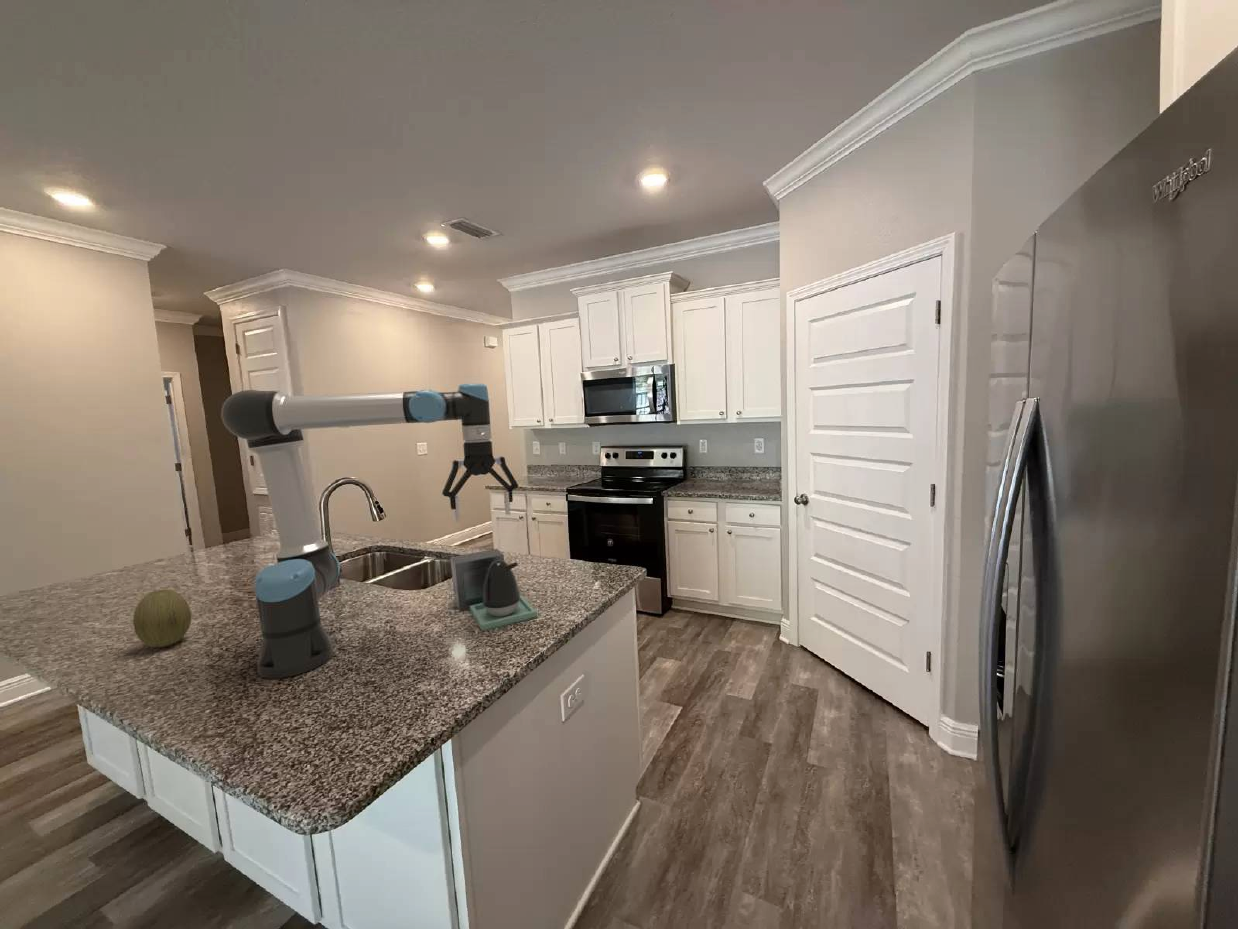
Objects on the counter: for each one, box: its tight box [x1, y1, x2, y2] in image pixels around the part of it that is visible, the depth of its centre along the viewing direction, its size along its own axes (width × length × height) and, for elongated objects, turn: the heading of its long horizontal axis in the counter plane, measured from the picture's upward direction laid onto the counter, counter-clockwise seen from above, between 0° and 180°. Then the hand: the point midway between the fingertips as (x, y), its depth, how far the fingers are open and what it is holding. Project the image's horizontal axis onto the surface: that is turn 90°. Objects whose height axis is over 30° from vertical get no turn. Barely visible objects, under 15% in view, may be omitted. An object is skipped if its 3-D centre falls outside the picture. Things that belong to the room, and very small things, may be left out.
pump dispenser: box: [482, 560, 521, 617], centre depth 138 cm, size 10×10×15 cm
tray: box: [469, 593, 538, 633], centre depth 139 cm, size 15×15×2 cm
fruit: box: [133, 589, 192, 648], centre depth 131 cm, size 11×11×15 cm
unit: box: [449, 548, 505, 612], centre depth 149 cm, size 14×9×14 cm, turn 118°
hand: (483, 517), depth 138 cm, fingers open, 13 cm apart
